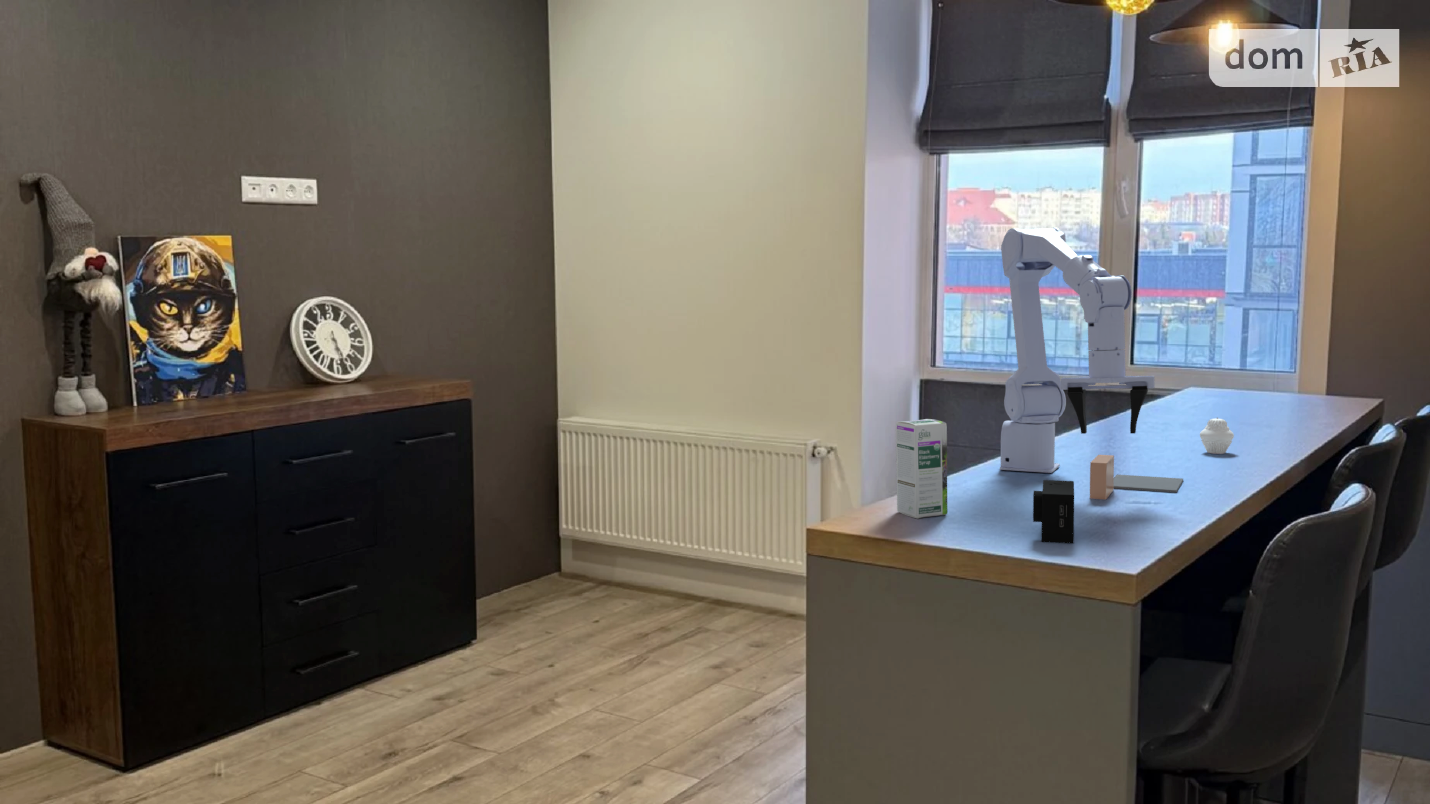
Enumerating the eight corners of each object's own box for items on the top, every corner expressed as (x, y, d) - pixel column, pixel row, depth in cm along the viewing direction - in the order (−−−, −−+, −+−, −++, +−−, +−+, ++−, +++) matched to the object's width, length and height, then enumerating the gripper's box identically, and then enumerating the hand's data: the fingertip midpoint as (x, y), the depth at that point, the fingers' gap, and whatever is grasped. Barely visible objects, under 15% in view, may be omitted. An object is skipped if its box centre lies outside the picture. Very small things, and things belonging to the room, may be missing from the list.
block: (1088, 498, 193) (1089, 462, 192) (1096, 489, 200) (1097, 454, 199) (1105, 499, 192) (1106, 463, 191) (1113, 490, 199) (1114, 455, 198)
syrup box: (916, 519, 180) (916, 424, 178) (895, 511, 185) (895, 420, 184) (948, 515, 182) (948, 421, 181) (926, 508, 188) (926, 417, 186)
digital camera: (1034, 525, 175) (1035, 478, 174) (1073, 527, 173) (1073, 480, 172) (1032, 542, 165) (1033, 492, 164) (1073, 544, 163) (1074, 494, 163)
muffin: (1238, 455, 230) (1239, 419, 229) (1206, 455, 230) (1207, 419, 229) (1225, 449, 236) (1226, 414, 235) (1194, 450, 236) (1195, 415, 235)
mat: (1106, 488, 201) (1107, 485, 201) (1116, 476, 210) (1116, 474, 210) (1176, 492, 196) (1176, 490, 196) (1183, 480, 205) (1183, 478, 205)
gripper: (1057, 352, 193) (1059, 435, 194) (1152, 349, 187) (1154, 435, 188) (1063, 351, 200) (1064, 431, 200) (1154, 348, 194) (1156, 431, 195)
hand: (1108, 433), depth 195 cm, fingers open, 7 cm apart
